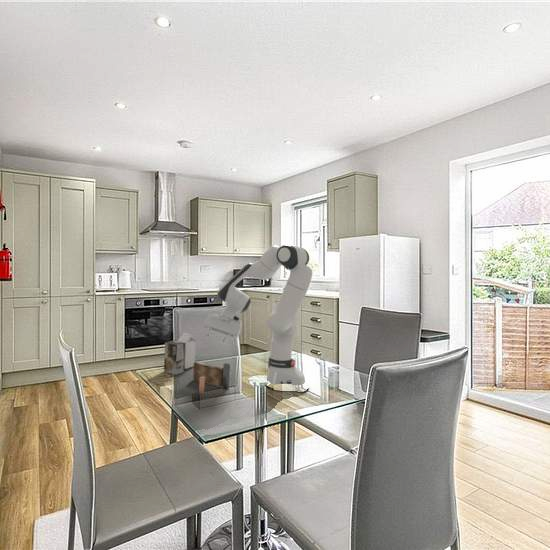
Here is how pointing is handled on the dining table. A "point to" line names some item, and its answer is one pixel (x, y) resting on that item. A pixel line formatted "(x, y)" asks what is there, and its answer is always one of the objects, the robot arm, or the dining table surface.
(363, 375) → the dining table surface
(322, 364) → the dining table surface
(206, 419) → the dining table surface
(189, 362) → the milk carton
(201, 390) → the catch post
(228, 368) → the gate post
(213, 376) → the gate
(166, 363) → the coffee box
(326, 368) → the dining table surface
